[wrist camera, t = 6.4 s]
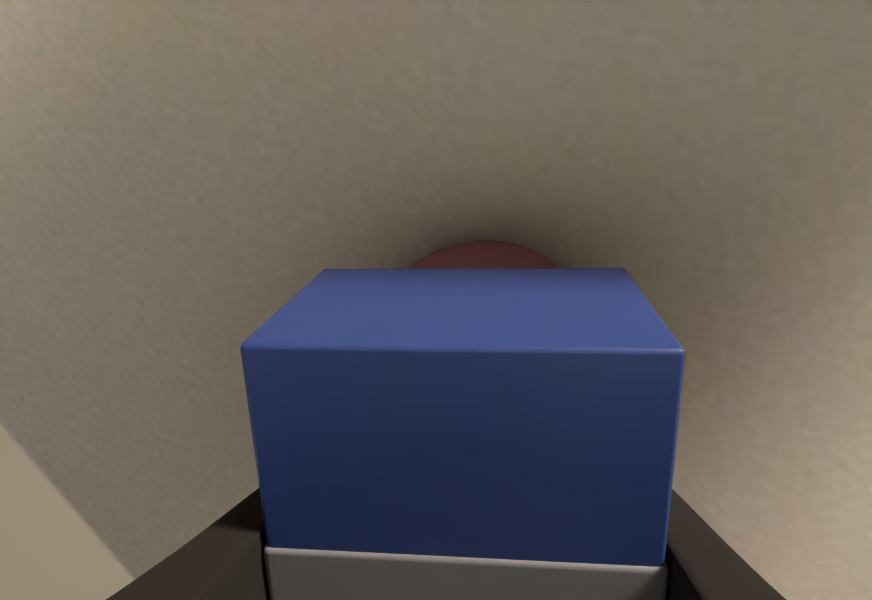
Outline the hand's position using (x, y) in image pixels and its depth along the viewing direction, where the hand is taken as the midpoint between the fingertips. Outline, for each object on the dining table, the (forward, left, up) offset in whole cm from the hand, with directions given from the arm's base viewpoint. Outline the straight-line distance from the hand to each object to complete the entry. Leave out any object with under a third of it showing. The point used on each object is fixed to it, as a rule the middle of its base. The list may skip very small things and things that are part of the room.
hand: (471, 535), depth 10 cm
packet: (0, 0, -2) cm, 2 cm away
